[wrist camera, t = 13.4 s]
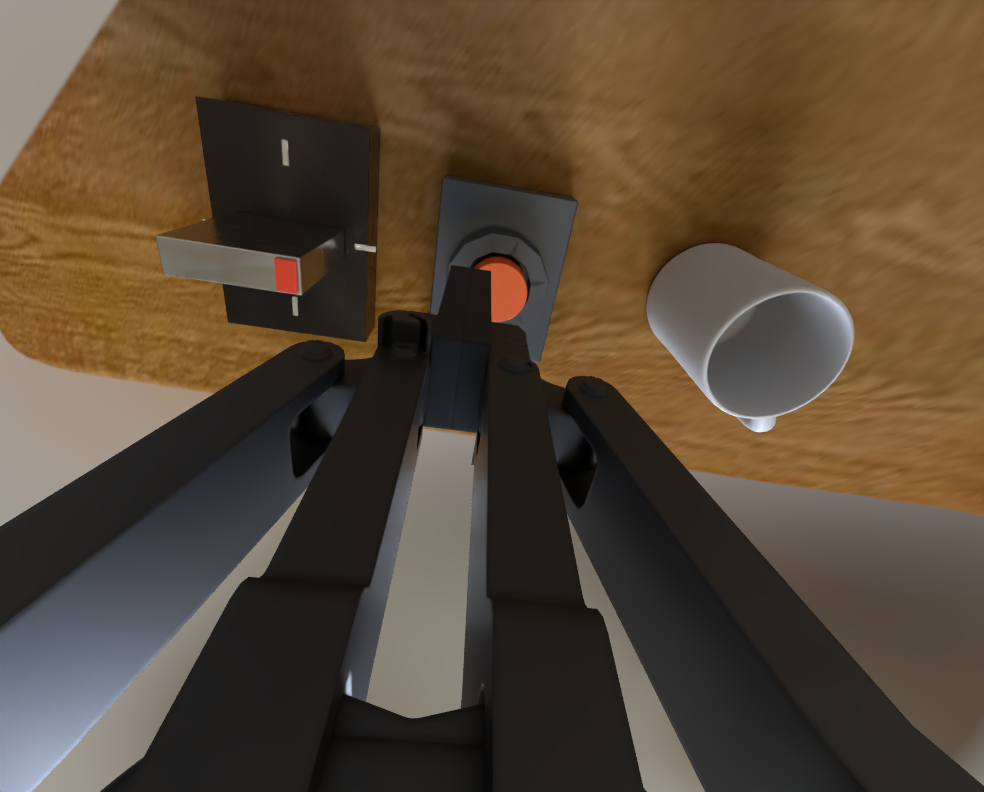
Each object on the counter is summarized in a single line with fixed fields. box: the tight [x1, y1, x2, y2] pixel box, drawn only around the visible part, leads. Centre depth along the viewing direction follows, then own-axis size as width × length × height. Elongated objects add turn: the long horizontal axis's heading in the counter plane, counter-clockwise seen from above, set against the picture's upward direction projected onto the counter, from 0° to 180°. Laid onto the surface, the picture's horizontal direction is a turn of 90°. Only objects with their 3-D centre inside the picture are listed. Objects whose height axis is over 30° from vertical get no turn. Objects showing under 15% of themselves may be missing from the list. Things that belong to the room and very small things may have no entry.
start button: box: [474, 256, 527, 322], centre depth 30 cm, size 4×4×2 cm
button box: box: [430, 175, 578, 362], centre depth 32 cm, size 12×9×4 cm
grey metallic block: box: [156, 211, 344, 295], centre depth 26 cm, size 7×2×8 cm, turn 81°
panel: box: [195, 97, 380, 342], centre depth 31 cm, size 14×11×3 cm
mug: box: [646, 243, 854, 432], centre depth 31 cm, size 12×8×11 cm
